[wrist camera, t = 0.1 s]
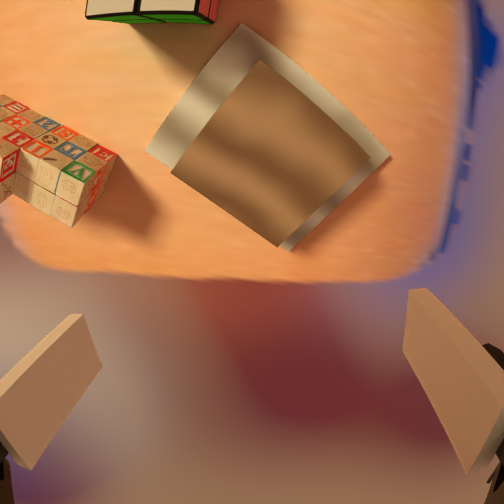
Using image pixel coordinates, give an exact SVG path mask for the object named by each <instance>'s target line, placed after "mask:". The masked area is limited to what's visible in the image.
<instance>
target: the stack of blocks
mask: <svg viewBox="0 0 504 504" xmlns="http://www.w3.org/2000/svg"><path fill="white" fill-rule="evenodd" d="M116 158H117V154H116V153H114V152H112V151H110V150H108V149H106V148H104V147H102V146H100V145H98V144H97V143H96V142H94V141H92V140H90V139H88V138H86V137H84V136H82V135H80V134H79V133H77V132H75V131H73V130H71V129H69V128H68V127H66V126H64V125H61V124H59V123H57V122H55V121H53V120H51V119H49V118H47V117H45V116H43V115H41V114H39V113H37V112H35V111H33V110H31V109H30V108H28V107H26V106H24V105H22V104H21V103H19V102H17V101H15V100H13V99H11V98H9V97H7V96H5V95H0V204H1V203H2V202H3V201H4V200H6V199H7V198H8V197H9V196H11V195H12V194H14V195H16V196H18V197H19V198H21V199H23V200H24V201H26V202H28V203H30V204H31V205H32V206H34V207H35V208H37V209H39V210H40V211H42V212H44V213H45V214H47V215H49V216H52V217H53V218H55V219H57V220H59V221H60V222H62V223H64V224H66V225H67V226H69V227H71V228H72V227H73V226H74V224H75V223H76V222H77V221H78V220H79V219H80V218H81V217H82V215H84V214H85V213H86V212H87V210H88V209H89V208H90V207H91V206H92V205H93V203H94V202H95V201H96V200H97V199H98V198H99V197H100V195H101V194H102V193H103V191H104V188H105V186H106V183H107V180H108V178H109V175H110V173H111V171H112V168H113V166H114V163H115V161H116Z"/></svg>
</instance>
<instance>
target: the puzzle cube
mask: <svg viewBox="0 0 504 504" xmlns="http://www.w3.org/2000/svg"><path fill="white" fill-rule="evenodd" d="M218 3H219V0H87V4H86V11H85V17H86V18H87V19H89V20H102V21H112V22H119V23H127V24H131V23H166V22H171V23H196V24H213V23H215V21H216V15H217V9H218Z"/></svg>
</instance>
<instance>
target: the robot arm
mask: <svg viewBox="0 0 504 504" xmlns="http://www.w3.org/2000/svg"><path fill="white" fill-rule="evenodd" d="M402 351H403V353H404V354H405V356H406V358H407V360H408V361H409V363H410V365H411V367H412V369H413V370H414V372H415V374H416V376H417V378H418V379H419V381H420V383H421V385H422V387H423V388H424V390H425V392H426V394H427V396H428V398H429V400H430V402H431V404H432V406H433V408H434V409H435V411H436V413H437V415H438V417H439V419H440V421H441V423H442V425H443V427H444V429H445V431H446V433H447V435H448V437H449V439H450V441H451V443H452V445H453V447H454V449H455V451H456V453H457V456H458V458H459V460H460V462H461V464H462V466H463V469H464V471H465V473H466V475H467V474H470V473H472V472H475V471H477V470H480V469H482V468H484V467H487V466H488V465H489V463H490V462H491V460H492V459H493V457H494V455H495V454H497V456H498V458H499V460H500V462H499V464H498V465H497V467H496V468H495V470H494V471H493V473H492V474H491V476H490V477H489V479H488V481H487V483H490V482H491V480H492V479H493V480H492V483H491V486H490V490H489V492H488V495H487V498H486V501H485V503H484V504H504V353H503V352H502V351H501V350H500V349H498V348H496V347H494V346H493V345H491V344H489V343H488V344H485V345H481V344H480V343H479V342H478V341H477V340H476V339H475V337H474V336H472V334H471V333H470V332H469V331H468V330H467V329H466V328H465V327H464V326H463V325H462V324H461V322H459V320H458V319H456V317H455V316H454V315H453V314H452V313H451V312H450V311H449V310H448V309H447V308H446V307H445V306H444V305H443V304H442V303H441V302H440V301H439V300H438V299H437V298H436V297H435V296H434V295H433V294H432V293H431V292H430V291H429V290H428V289H427V288H426V287H425V288H418V289H411V290H408V302H407V313H406V323H405V332H404V340H403V348H402ZM101 368H102V364H101V362H100V359H99V357H98V354H97V351H96V349H95V346H94V343H93V341H92V338H91V335H90V333H89V330H88V327H87V324H86V321H85V318H84V315H83V314H70V315H69V316H68V317H67V318H65V319H64V320H63V321H62V322H61V323H60V324H59V325H58V326H57V327H55V328H54V329H53V330H52V331H51V332H50V333H49V334H48V335H47V336H46V337H45V338H43V339H42V340H41V341H40V342H39V343H38V344H37V345H36V346H35V347H34V348H33V349H32V350H31V351H30V352H29V353H28V354H26V356H24V357H23V359H21V360H20V361H19V362H18V363H17V364H16V365H15V366H14V367H13V368H12V369H11V370H10V371H9V372H8V373H7V374H6V375H5V376H4V377H3V378H2V379H1V380H0V504H14V498H13V491H12V483H11V474H10V465H9V462H8V461H7V459H6V458H5V457H6V456H7V454H8V453H9V454H10V456H11V457H12V458H13V459H14V461H15V462H16V463H17V464H18V465H20V466H22V467H25V468H27V469H29V470H32V469H33V467H34V465H35V464H36V462H37V461H38V459H39V458H40V456H41V455H42V453H43V451H44V450H45V449H46V447H47V446H48V444H49V443H50V441H51V440H52V438H53V437H54V435H55V434H56V432H57V431H58V429H59V427H60V426H61V425H62V423H63V422H64V420H65V419H66V418H67V416H68V415H69V413H70V412H71V410H72V409H73V408H74V406H75V405H76V403H77V402H78V400H79V399H80V398H81V396H82V395H83V393H84V392H85V390H86V389H87V388H88V386H89V385H90V383H91V382H92V381H93V379H94V378H95V377H96V375H97V373H98V372H99V371H100V370H101Z"/></svg>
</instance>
